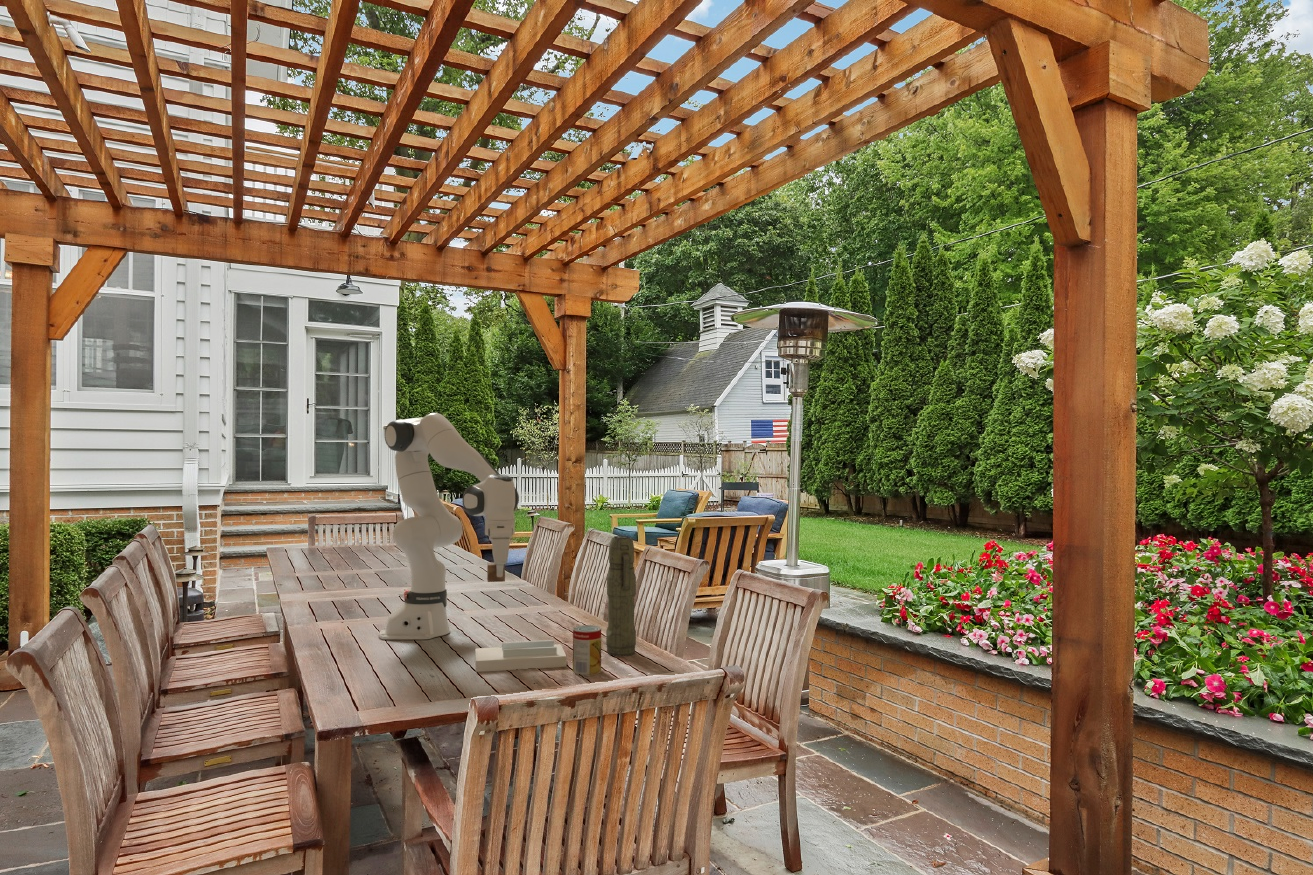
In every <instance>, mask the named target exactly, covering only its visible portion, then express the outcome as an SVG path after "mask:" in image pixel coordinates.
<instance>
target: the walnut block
mask: <svg viewBox="0 0 1313 875" xmlns="http://www.w3.org/2000/svg"><path fill="white" fill-rule="evenodd" d="M486 570H487V572H486V573H487V576H486V577H487V578H486V579H487V583H496V582H497V583H499V582H504V583H505V582H506V564H504V567H503V576H502V577H497V568H496V564H495V563H494V561H493V562H492V561H491V562H490V561H489V562H487V568H486Z"/></svg>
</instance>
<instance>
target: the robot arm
mask: <svg viewBox="0 0 1313 875" xmlns="http://www.w3.org/2000/svg"><path fill="white" fill-rule="evenodd" d="M384 440H385V443H386V445H387V447H388V448H389V449H390V450H391V451H394V452H395V456H394V458H395V459H394V460H395V461H394V463H395V464H394V465H395V472H396V477H397V482H398V486H399V489H400V494H401V497H402V501H403V503H404V504H405V506H406V507H409V509H412V510H413V511H414V512H415V513H416V514H417V516H409V517H407V518H405V519H402V520H400V521H398V522H397V523H396V524H395V526H394V527H393V530H392V538H393V542H394V544H395V546H396V547H397V548H398V549H400V550H401V551H402V552H403V554H404V555H405V557H406V558H407V561H408V565H409V568H410V590H408V589H407V590H405V591H404V592H403V596H404V597H403V599H404V603H402V604H401V605H400V606H399V607H398V608H396V609H395V610H394V611H392V612H391V613H390V614H389V616H388V617H387V620H386V624H385V628H383V629H381V630H380V631H379V633H378V638H379V639H381V640H430V639H433V638H436V637H437V638H438V637H441V636H445V635H447V634H449V633H451V629H450V625H449V621H448V614H447V605H448V593H447V592H448V591H447V588H446V566H445V565H444V563H443V562H442V561H440V560H439V559H438V558H437V557H436V554H435V550H434V549H435V548H442V547H448V546H450V545H453V544H455V543H458V542H459V541H460V539H462V536H463V532H464V531H463V528H464V527H463V524H462V522H461V519H459V518H458V517H457V516H455V515H454V514H453V513H451V512H450V511H449V510H448V508H447V507H446V506H445V504H444V503H443V502H442V500H441V499H440V496H439V495H438V492H437V488H436V485H435V481H434V477H433V474H432V471H431V468H430V464H429V460H428V459H429V455H430V456H431V458H432V459H433V460H434V461H435V462H436V463H437V464H439V465H440V466H442V467H444V468H446V469H447V468H448V469H453V470H459V471H463V472H466V473H469V474H471V475H473V476H475V477H476V478H477V479H478V480H479V482H478V483H476V484H473V485H469V486H468V487H467V488H466V489H465V490H464V492H463V495H462V500H461V501H462V506H463V508H464V511H465V512H466V513H467V514H468V515H470V516H474V517H481V516H485V517H484V535H485V536H487V537H488V540H489V541H490V542H491V547H492V549H491V550H492V557H493V562H494V563H495V564H496V568H497V577H502V576H503V567H504V564H505V565H506V564H508V563H507V562H508V559H509V550H510V542H511V538H512V537H513V536H514V535H515V532H516V517H515V511H516V510H517V507H518V505H519V503H520V495H519V492H518V490H517V488H516V487H515V481H514V479H513V478H512V477H511V476H509V475H507V474H506V475H505V474H500V473H499V472H498V470H497V469H495V467H494V466H493V465H492V464H491V462H490V461H489V460H488V459H487V458H486V457H485V456H484V455H483V454H482V453H481V452H479V451H478V450H477V449H475V448H474V447H472V446H471V445H470V444H469V443H468V442H467V441H466V439H464V438H463V437H462V436H461V434H460V433H459V432H458V430H457V429H456V427H455V426H454V425H453V424H452V423H451V422H450V420H448V418H447V417H445V416H444V415H443V414H441V413H439V412H431V413H428V414H426V415H424V416H423V417H413V418H405V419H401V418H400V419H395V420H393V421H390V422H389V423H387V426H386V427H385V430H384Z"/></svg>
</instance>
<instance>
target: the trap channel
mask: <svg viewBox="0 0 1313 875" xmlns="http://www.w3.org/2000/svg"><path fill="white" fill-rule="evenodd" d="M474 650H475V652H474V653H475V654H474V658H475V659H474V660H475V661H474V662H475V672H476V673H482V672H496V671H497V672H499V671H513V670H515V671H517V670H516V669H518V670H529V669H528V668H536V669H548V668H549V669H551V668H553V669H554V668H565V667H566V668H567V655H566V652H565V650H564V648H563V646H562V644H559V643H558V644H556V643H555V642H554V639H547V640H546V639H545V640H544V639H543V640H526V641H525V640H523V641H522V640H521V641H507V642H506V641H505V642H501V647H496V646H495V647H481V648H479V647H477V648H475V649H474Z"/></svg>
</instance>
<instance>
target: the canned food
mask: <svg viewBox="0 0 1313 875" xmlns="http://www.w3.org/2000/svg"><path fill="white" fill-rule="evenodd" d="M573 672H574V673H576V674H575V675H577V674H581V675H580V676H583V675H589V676H595V675H598V674H600V673H601V672H602V627H601V626H598V625H591V624H590V625H589V624H588V625H587V624H584V625H583V624H582V625H578V626H574V627H573V628H572V673H573ZM574 673H573V674H574Z"/></svg>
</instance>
